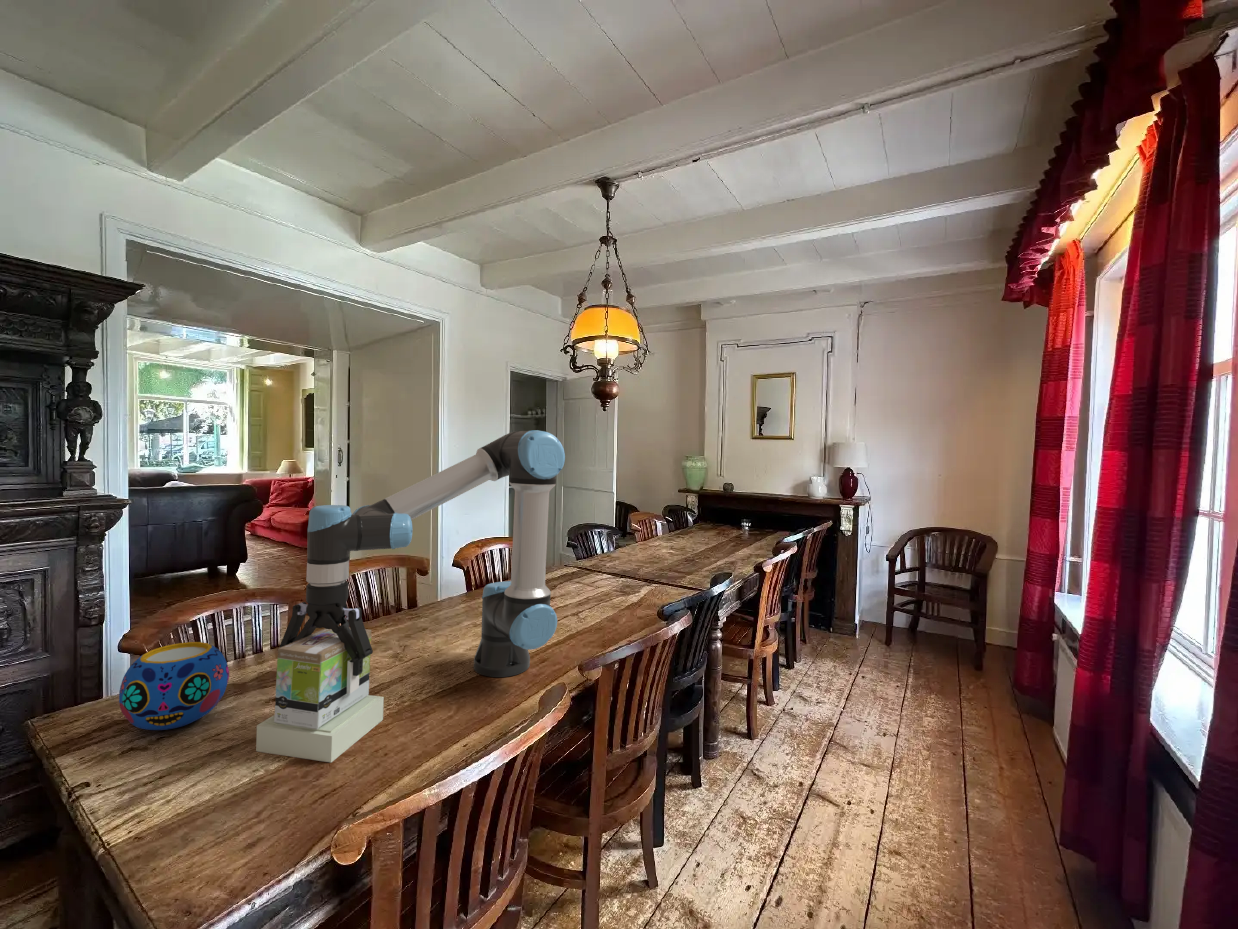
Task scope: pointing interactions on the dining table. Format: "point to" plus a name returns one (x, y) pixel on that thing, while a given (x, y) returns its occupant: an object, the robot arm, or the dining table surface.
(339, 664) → the tea box
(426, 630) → the dining table surface
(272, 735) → the block
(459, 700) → the dining table surface
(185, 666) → the ceramic pot
